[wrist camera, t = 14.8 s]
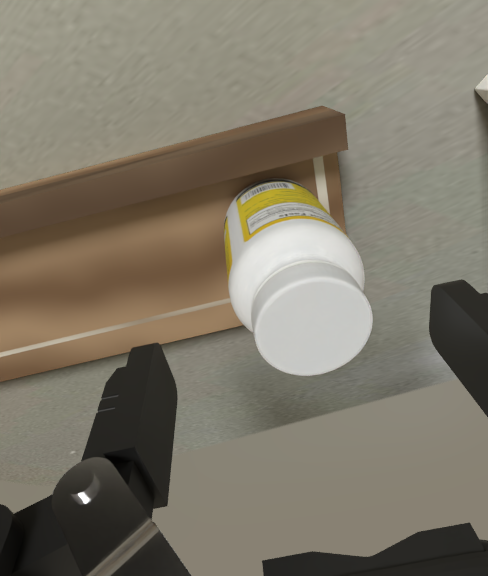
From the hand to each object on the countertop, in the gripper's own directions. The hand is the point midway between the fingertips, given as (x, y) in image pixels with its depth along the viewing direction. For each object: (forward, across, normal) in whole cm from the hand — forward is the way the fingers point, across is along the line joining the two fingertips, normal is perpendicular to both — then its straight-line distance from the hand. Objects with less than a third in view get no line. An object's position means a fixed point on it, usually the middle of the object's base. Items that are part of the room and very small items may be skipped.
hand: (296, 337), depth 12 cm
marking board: (+13, +8, +2) cm, 15 cm away
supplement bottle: (+11, -1, +1) cm, 11 cm away
